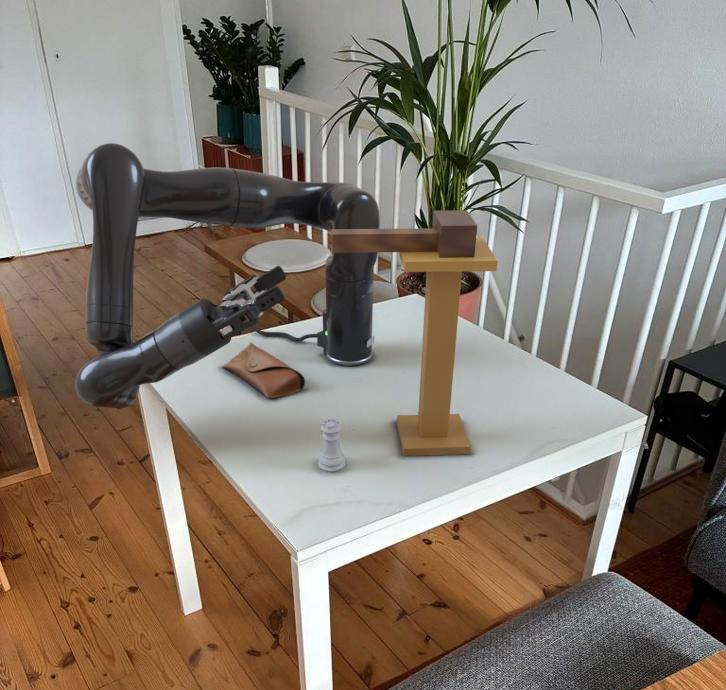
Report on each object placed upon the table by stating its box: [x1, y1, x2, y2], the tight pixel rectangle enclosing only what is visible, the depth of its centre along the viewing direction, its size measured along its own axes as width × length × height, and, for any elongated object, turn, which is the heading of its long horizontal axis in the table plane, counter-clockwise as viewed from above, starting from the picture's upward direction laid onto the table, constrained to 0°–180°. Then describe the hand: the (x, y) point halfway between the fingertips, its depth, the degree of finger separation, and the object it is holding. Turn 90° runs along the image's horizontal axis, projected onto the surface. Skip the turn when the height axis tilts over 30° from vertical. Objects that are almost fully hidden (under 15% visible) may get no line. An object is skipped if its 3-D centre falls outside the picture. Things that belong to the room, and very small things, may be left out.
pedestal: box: [396, 237, 499, 457], centre depth 116 cm, size 13×11×32 cm
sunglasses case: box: [221, 341, 306, 399], centre depth 142 cm, size 18×7×7 cm, turn 40°
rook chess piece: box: [317, 417, 346, 473], centre depth 115 cm, size 4×4×8 cm
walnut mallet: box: [330, 209, 478, 258], centre depth 105 cm, size 20×8×4 cm, turn 93°
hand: (282, 281), depth 108 cm, fingers open, 8 cm apart
